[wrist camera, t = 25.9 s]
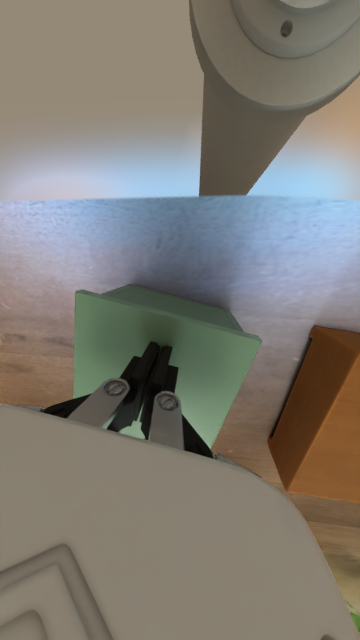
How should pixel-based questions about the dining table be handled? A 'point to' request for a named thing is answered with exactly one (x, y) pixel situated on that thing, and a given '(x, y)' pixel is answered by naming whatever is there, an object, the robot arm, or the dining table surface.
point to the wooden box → (323, 421)
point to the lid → (165, 329)
